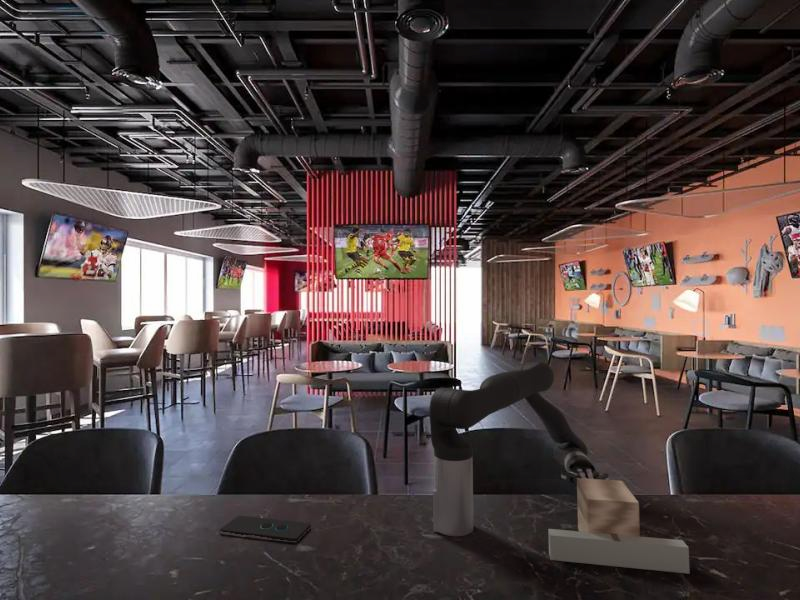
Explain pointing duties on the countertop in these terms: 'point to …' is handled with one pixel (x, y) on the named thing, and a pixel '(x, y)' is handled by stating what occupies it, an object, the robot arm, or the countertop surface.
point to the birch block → (607, 507)
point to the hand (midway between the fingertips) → (591, 488)
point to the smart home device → (267, 528)
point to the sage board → (619, 550)
